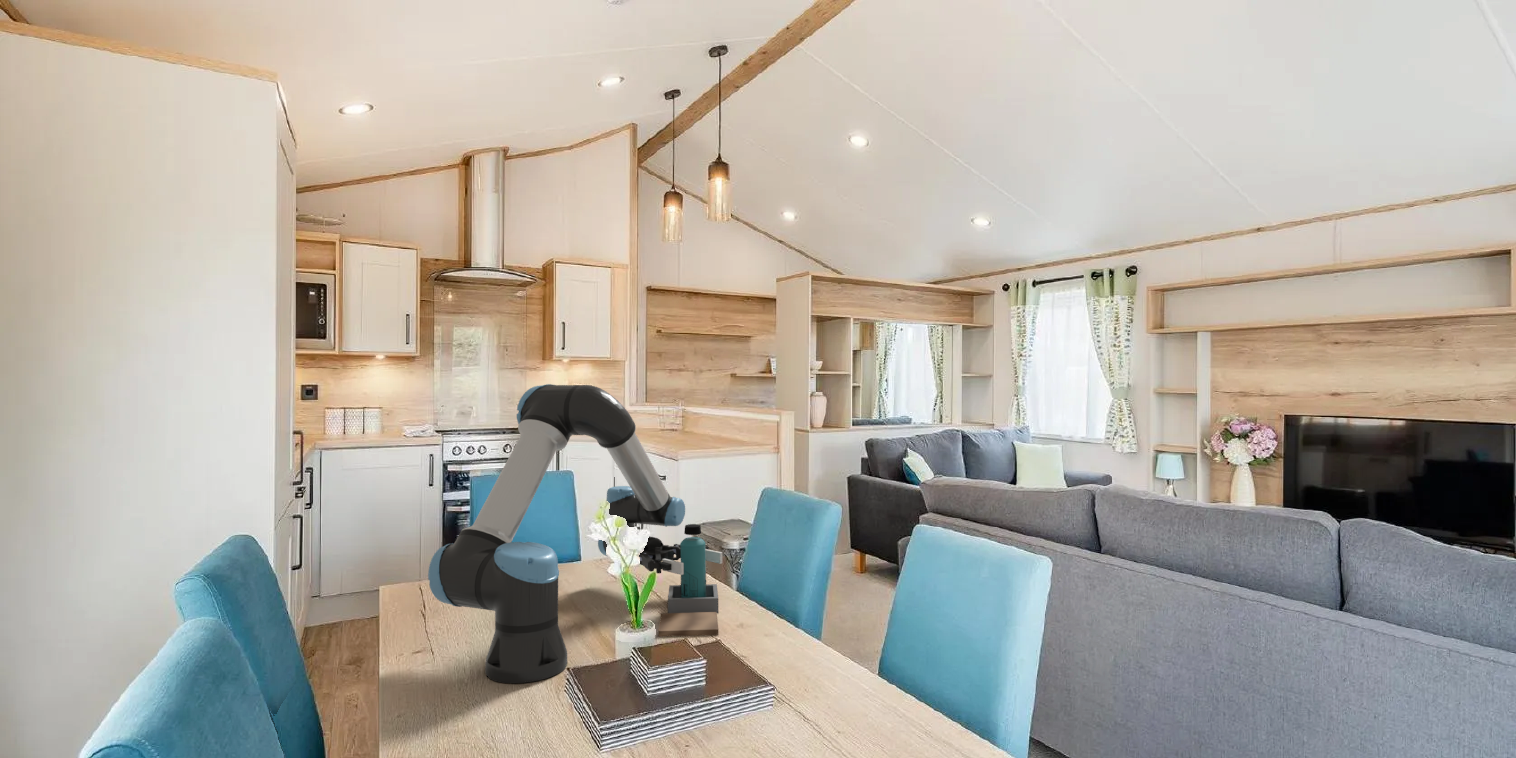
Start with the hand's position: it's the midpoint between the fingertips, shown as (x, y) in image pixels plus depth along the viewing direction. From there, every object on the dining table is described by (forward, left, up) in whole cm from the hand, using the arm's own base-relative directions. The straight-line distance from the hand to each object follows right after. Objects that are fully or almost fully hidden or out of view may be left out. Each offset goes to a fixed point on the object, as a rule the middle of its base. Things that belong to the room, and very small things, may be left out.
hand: (702, 563), depth 178 cm
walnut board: (-3, -13, -11) cm, 17 cm away
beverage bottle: (-2, +2, -11) cm, 12 cm away
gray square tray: (-2, +2, -11) cm, 11 cm away
